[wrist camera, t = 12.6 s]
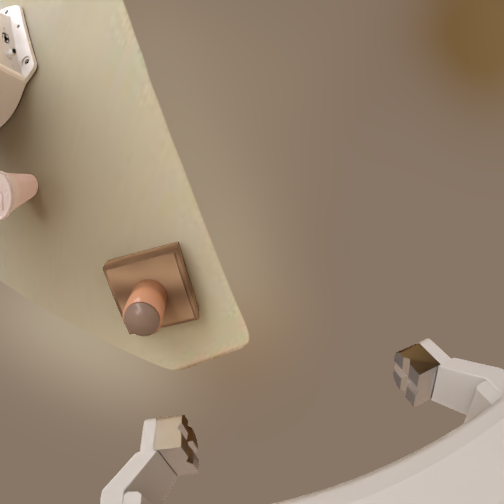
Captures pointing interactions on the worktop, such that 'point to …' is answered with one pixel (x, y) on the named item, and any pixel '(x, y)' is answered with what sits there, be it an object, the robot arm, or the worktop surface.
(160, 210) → the worktop surface
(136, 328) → the jar
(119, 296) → the plinth
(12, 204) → the smoothie
